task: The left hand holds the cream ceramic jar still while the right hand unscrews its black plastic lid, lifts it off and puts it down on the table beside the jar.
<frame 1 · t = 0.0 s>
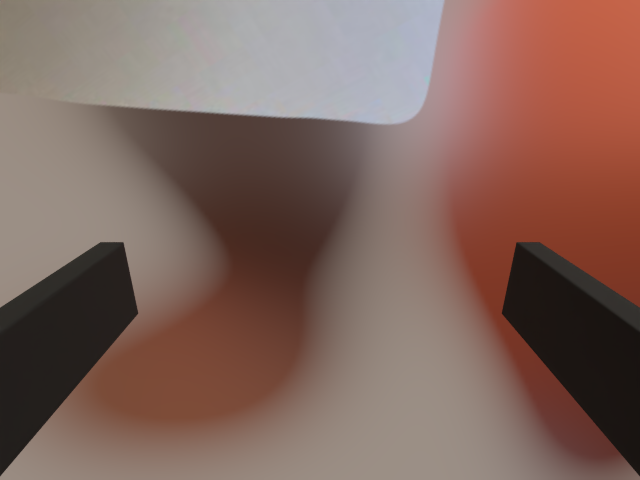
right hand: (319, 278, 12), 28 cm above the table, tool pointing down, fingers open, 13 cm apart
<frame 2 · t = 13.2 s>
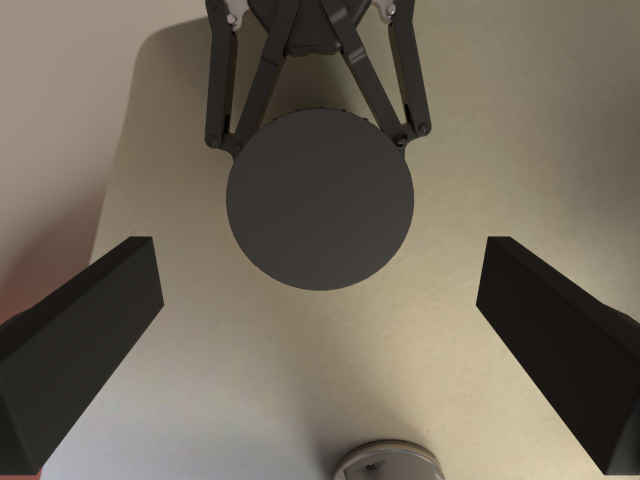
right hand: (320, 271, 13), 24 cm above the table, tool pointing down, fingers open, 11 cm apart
left hand: (323, 229, 31), fingers closed on jar, 9 cm apart
lid: (320, 206, 21), point 15 cm above the table, screwed on, not yet turned
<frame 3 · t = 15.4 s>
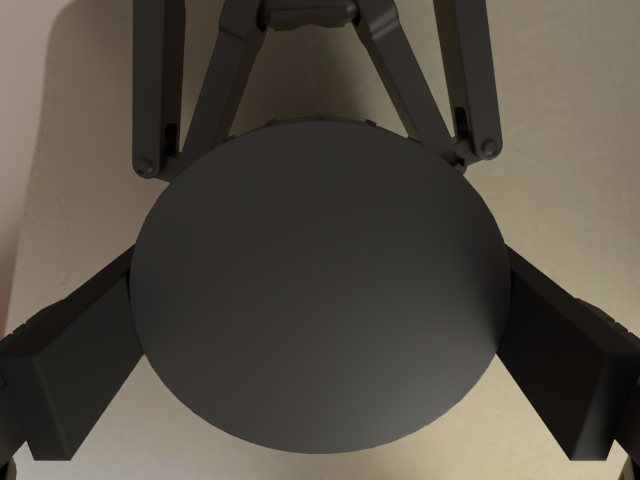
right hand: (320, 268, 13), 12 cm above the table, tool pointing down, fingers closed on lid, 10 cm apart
lid: (320, 311, 11), point 15 cm above the table, screwed on, not yet turned, touching right hand
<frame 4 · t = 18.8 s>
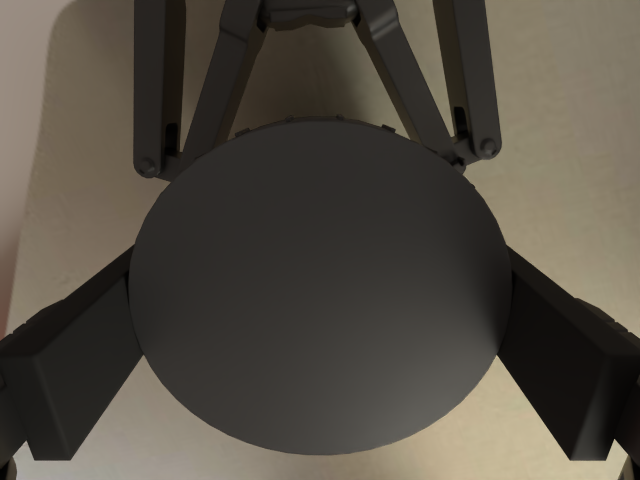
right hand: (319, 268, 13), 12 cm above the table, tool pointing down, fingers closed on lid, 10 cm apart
lid: (320, 312, 10), point 15 cm above the table, turned 119° so far, risen 0.1 cm, still on its thread, touching right hand
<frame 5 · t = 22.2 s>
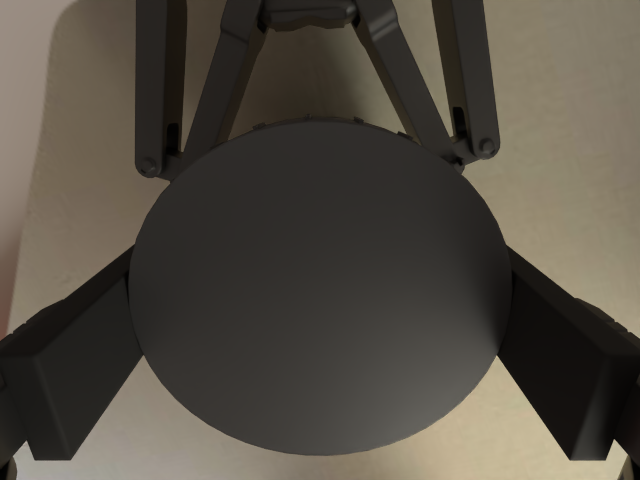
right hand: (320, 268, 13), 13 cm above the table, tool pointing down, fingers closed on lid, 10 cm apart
lid: (320, 312, 10), point 16 cm above the table, turned 239° so far, risen 0.3 cm, still on its thread, touching right hand
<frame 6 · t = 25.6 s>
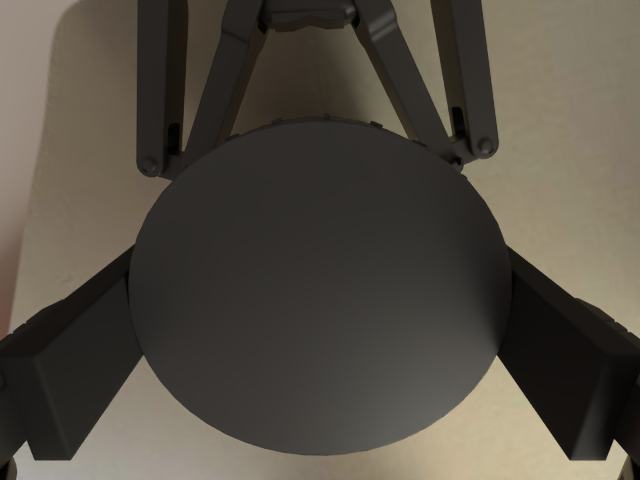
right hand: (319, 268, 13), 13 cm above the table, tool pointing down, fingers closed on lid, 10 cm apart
lid: (320, 312, 10), point 16 cm above the table, turned 358° so far, risen 0.4 cm, still on its thread, touching right hand
when the right hand's fingers open (0 cm above the table, at t = 31.6 s): lid drops 2 cm, point 2 cm above the table.
when the left hand's fingers open (7 cm above the table, at t = 32.6 s): jar stays where it is, on the table.
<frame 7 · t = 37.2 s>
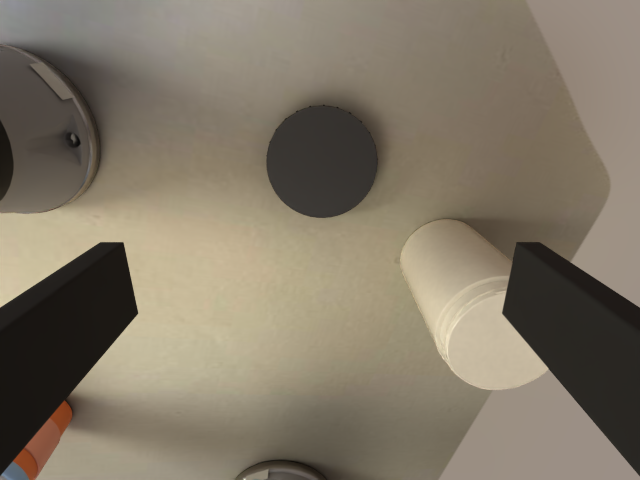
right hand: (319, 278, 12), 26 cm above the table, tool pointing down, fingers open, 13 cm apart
lid: (321, 164, 35), point 2 cm above the table, off its thread
cup with straw: (50, 408, 48), on the table
jar: (441, 258, 40), on the table
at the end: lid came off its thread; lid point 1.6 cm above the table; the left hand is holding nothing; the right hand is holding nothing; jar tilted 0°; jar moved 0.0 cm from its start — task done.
